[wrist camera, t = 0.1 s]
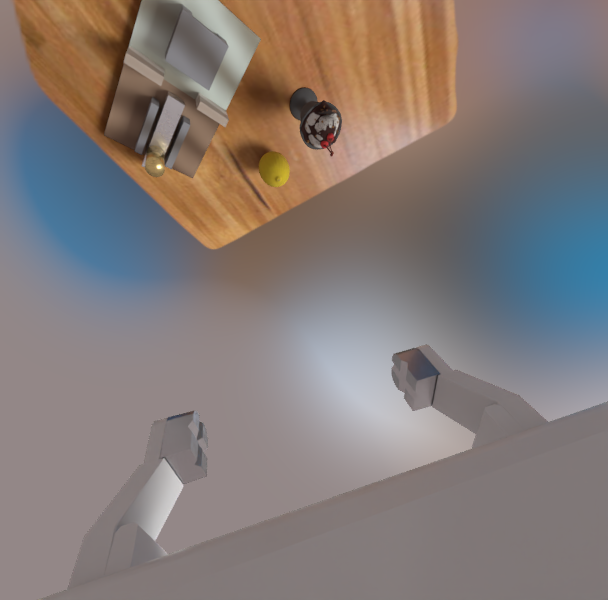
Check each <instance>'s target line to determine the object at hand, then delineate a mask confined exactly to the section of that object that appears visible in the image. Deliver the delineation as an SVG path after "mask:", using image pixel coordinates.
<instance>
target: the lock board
mask: <svg viewBox="0 0 608 600" xmlns="http://www.w3.org/2000/svg"><path fill="white" fill-rule="evenodd" d="M260 40H261V39H260V38H259V37H258V36H257V35H256V34H255V33H254V32H253V31H252V30H250V29H249V28H248V27H247V26H246V25H245V24H244V23H243V22H242V21H241V20H239V19H238V18H237V17H236V16H235V15H234V14H233V13H232V12H231V11H230V10H228V9H227V8H226V7H225V6H224V5H223V4H222V3H221V2H220V1H219V0H142V1H141V5H140V8H139V12H138V15H137V19H136V22H135V26H134V30H133V33H132V37H131V40H130V44H129V47H128V49H127V52H126V55H125V59H124V65H123V69H122V72H121V76H120V79H119V83H118V87H117V90H116V94H115V97H114V101H113V104H112V108H111V112H110V115H109V119H108V122H107V126H106V129H105V133H104V136H107V137H109V138H111V139H113V140H115V141H117V142H119V143H121V144H123V145H125V146H127V147H129V148H131V149H133V150H135V152H137V153H139V154H141V155H142V154H144V155H145V153H146V150H147V147H148V145H149V142H150V139H151V137H152V134H153V131H154V128H155V126H156V123H157V120H158V118H159V115H160V112H161V110H162V107H163V104H164V102H165V99H166V96H167V94H168V91H169V92H171V93H172V94H174V95H175V96H177V97H179V98H180V99H182V100H183V101H185V107H184V109H183V112H182V114H181V117H180V119H179V121H178V124H177V126H176V129H175V131H174V134H173V136H172V138H171V141H170V143H169V146H168V148H167V151H166V153H165V160H164V165H165V166H166V167H168V168H170V169H172V168H173V169H175V170H177V171H179V172H181V173H183V174H185V175H187V176H189V177H191V178H193V177H194V175H195V173H196V171H197V169H198V167H199V165H200V163H201V160H202V158H203V156H204V154H205V152H206V150H207V148H208V146H209V144H210V142H211V140H212V138H213V136H214V134H215V132H216V130H217V128H218V126H219V124H221V125H223V126H224V127H226V125H227V123H228V121H229V119H228V116H227V113H226V109H227V107H228V105H229V103H230V101H231V99H232V97H233V95H234V93H235V91H236V89H237V87H238V85H239V83H240V81H241V79H242V77H243V75H244V73H245V71H246V68H247V66H248V64H249V62H250V60H251V58H252V56H253V54H254V52H255V50H256V48H257V46H258V44H259V42H260Z"/></svg>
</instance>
